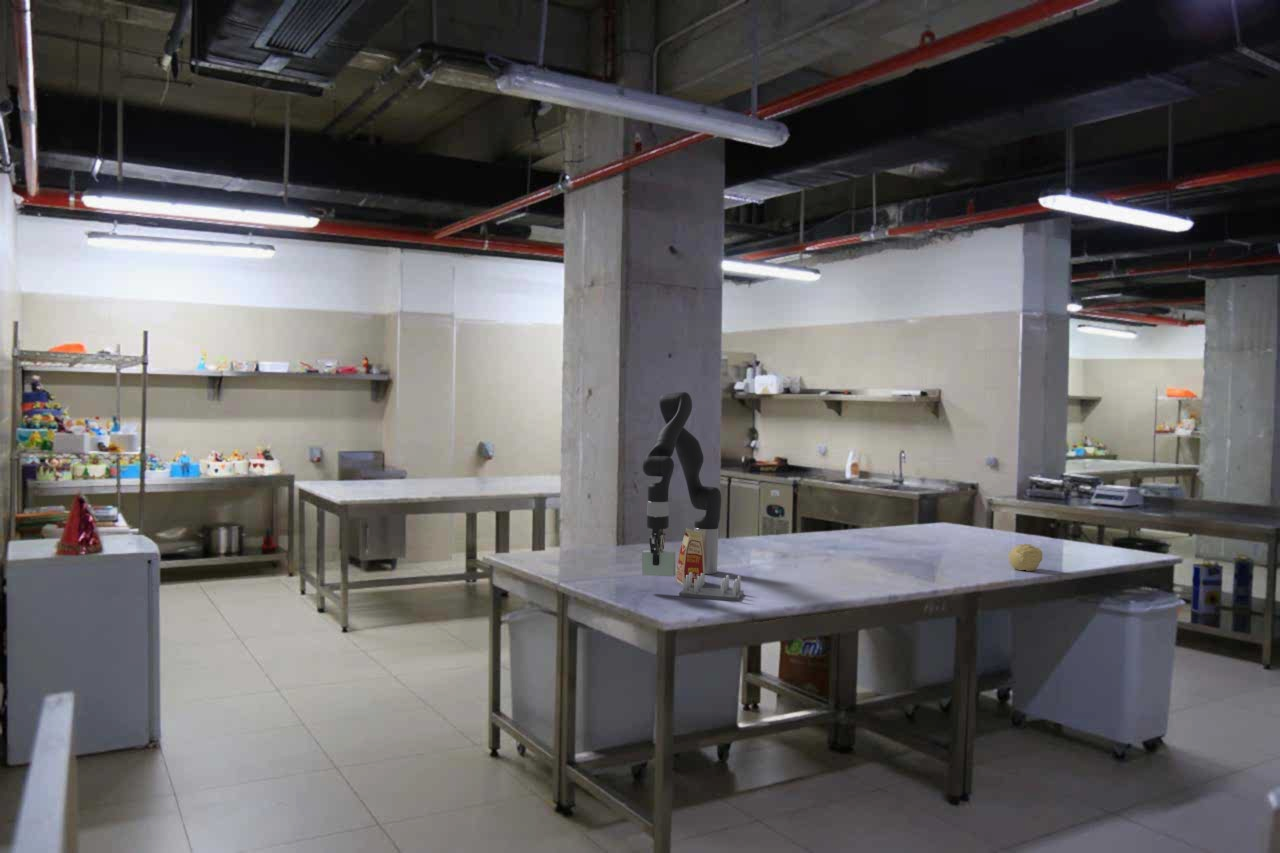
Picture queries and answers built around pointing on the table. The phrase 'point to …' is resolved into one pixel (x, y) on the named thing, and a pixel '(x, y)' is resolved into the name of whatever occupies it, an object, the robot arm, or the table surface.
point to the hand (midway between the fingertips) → (657, 564)
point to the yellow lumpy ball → (1025, 557)
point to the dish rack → (711, 589)
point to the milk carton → (691, 556)
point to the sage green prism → (664, 567)
